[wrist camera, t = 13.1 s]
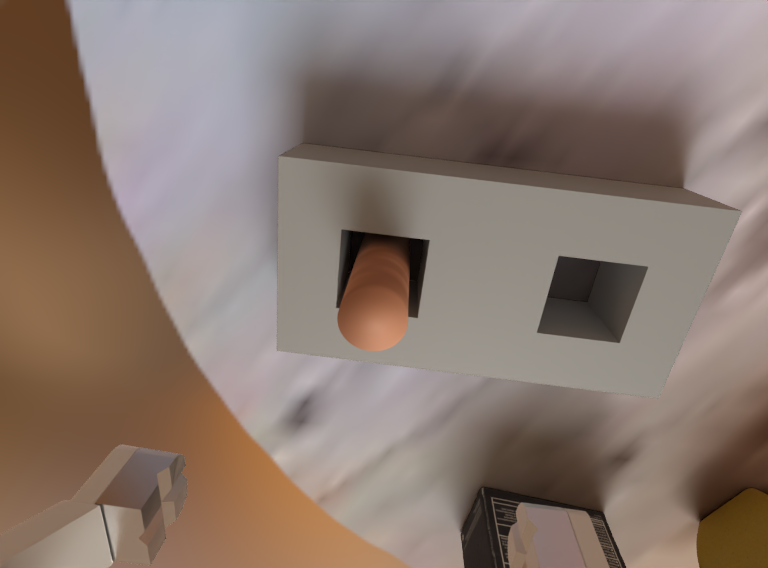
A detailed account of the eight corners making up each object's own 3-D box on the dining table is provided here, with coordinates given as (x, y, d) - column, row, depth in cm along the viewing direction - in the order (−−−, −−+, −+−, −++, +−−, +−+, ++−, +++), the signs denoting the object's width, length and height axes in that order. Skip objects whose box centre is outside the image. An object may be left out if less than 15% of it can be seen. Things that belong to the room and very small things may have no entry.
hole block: (683, 188, 26) (742, 211, 21) (621, 350, 30) (658, 398, 26) (302, 143, 26) (278, 155, 21) (297, 310, 30) (276, 350, 26)
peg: (413, 223, 27) (412, 294, 18) (407, 268, 29) (403, 355, 20) (364, 218, 28) (339, 284, 18) (360, 263, 29) (335, 346, 20)
